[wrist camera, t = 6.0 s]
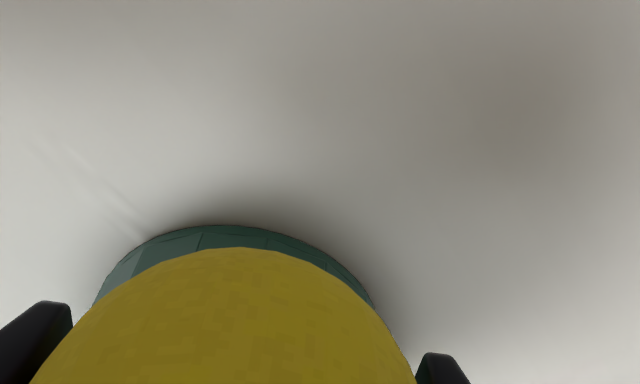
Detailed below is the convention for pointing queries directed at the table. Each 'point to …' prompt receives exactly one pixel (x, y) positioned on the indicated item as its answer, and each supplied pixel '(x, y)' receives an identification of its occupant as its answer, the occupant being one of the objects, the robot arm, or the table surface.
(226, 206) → the table surface
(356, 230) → the table surface
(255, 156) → the table surface
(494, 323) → the table surface
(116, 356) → the lemon
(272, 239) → the pot
